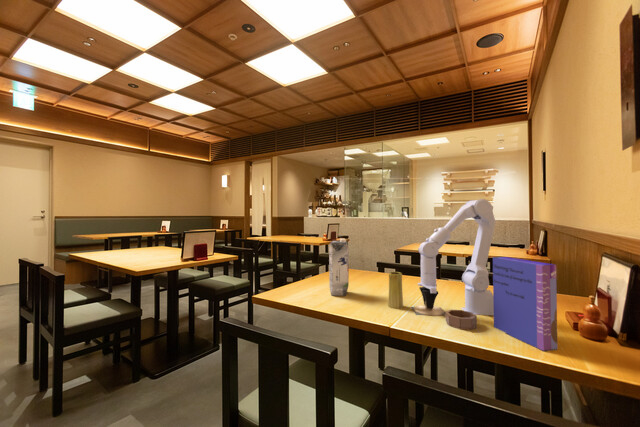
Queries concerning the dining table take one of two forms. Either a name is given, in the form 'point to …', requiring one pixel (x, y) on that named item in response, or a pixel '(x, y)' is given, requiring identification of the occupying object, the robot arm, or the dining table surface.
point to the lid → (428, 310)
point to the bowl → (461, 319)
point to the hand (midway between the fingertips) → (428, 307)
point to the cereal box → (526, 301)
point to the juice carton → (338, 267)
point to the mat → (422, 314)
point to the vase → (395, 290)
